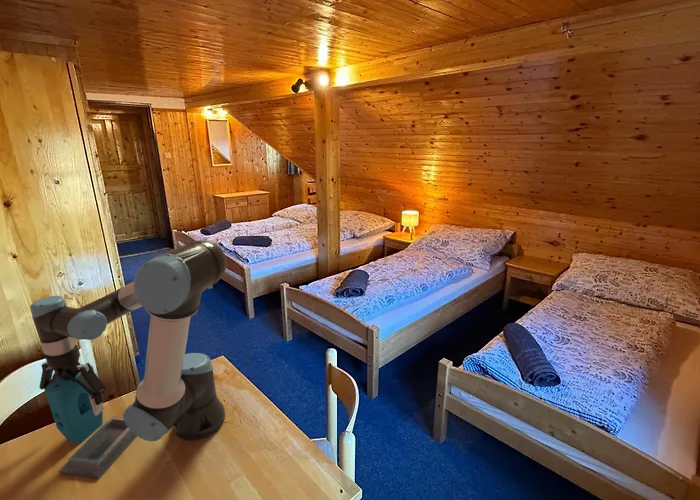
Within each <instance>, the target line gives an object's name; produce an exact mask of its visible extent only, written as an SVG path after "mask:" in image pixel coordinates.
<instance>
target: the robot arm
mask: <svg viewBox="0 0 700 500" xmlns="http://www.w3.org/2000/svg"><path fill="white" fill-rule="evenodd" d="M226 270H227V257H226V254H225V252H224V251H223V249H222V248H221V247H220V246H219V245H218V244H216V243H214V242H213V241H209V240H204V239H203V240H202V239H201V240H194V241H192V242H188V243H187V244H184V245H182V246H179V247H178V248H175V249H173V250H170V251H169V252H166V253H162V254H159V255H157V256H153V258H151V259H150V260H149V261H145V263H143V264H142V265H141V266H140V267H139V269H138V270H137V272H136V273H135V276H134V278H133V281H132V282H130V283H128V284H125V285H124V286H123V287H120V288H118V289H116V290H114V291H112V292H110V293H108V294H106V295H104V296H101V297H100V298H97V299H95V300H93V301H91V302H89V303H87V304H85V305H83V306H81V307H72V306H71V307H70V306H67V301H66V300H65V298H64V297H63V296H61V295H49V296H45V297H42V298H39V299H37V300H35V301H33V302H32V304H31V303H30V307H29V308H30V312H31V315H32V316H31V319H32V321H33V324H34V327H35V330H36V332H37V335H38V338H39V342H40V345H41V349H42V352H43V354H44V357H45V362H43V363H42V364H41V369H42V372H41V377H40V382H39V389H40V390H44V389H45V388H46V387H47V386H49V385H50V384H52V383H53V382H55V381H56V380H58V379H59V378H61V377H62V378H67V379H71V380H72V381H74V382H77V383H78V384H79V385H80V386H82V387H83V388H84V389H85V390H86V391H87V392H88V393H89V394H90V395H91V396H90V397H89V398H90V401H91V405H92V408H93V412H94V415H96V416H97V415H98V414H99V413H100V412H101V411H102V410H104V409H105V408H104V402H103V401H104V400H103V396H102V395H103V393H105V392H106V391H107V387H106V386H105V384H104V383H103V382H102V381H101V379H100V378H99V376H98V375H97V373H95V370H94V371H93V370H92V368H91V366H92V365H91V363H89V362H86V363H85V365H81V362H80V361H79V360H80V357H81V353H80V349H79V346H78V344H77V340H87V341H88V340H89V341H92V340H96V339H98V338H99V337H101V336H102V334H103V333H104V332H105V331H106V329H107V327H108V326H107V325H109V324H111V323H112V322H114V321H116V320H118V319H119V318H121V317H123V316H125V315H127V314H130V313H131V312H133V311H135V310H137V309H139V308H141V307H143V308H144V310H145V311H146V312H147V314H149V316H150V319H149V327H148V328H149V329H148V338H147V339H148V340H147V346H146V347H147V349H146V357H145V367H144V368H145V369H144V377H143V379H142V380H141V381H140V382H139V384H138V385H137V387H136V391H135V397H134V402H132V403H131V404H130V405H128V406H127V407H126V409H124V412H123V413H122V417H123V418H124V421H125V423H126V425H127V427H128V428H129V429H130V430H131V431H132V432H133V433H134V434H135V435H137V437H138V438H140V439H142V440H144V441H146V442H156V441H159V440H160V439H162V437H164V436H165V435H167V433H168V432H169V431H170V430H171V429H172V427H173V429H174V434H175V435H176V437H178V438H180V439H182V440H186V441H195V440H201V439H204V438H207V437H209V436H210V435H212V434H214V433H215V432H216V431H218V429H220V428H221V427H222V425H223V424H224V422H225V420H226V410H225V407H224V405H223V403H222V401H220V399H219V397H218V395H217V390H216V384H215V376H214V368H213V367H214V366H213V364H212V361H211V358H210V356H208V355H207V354H204V353H200V352H190V353H186V348H187V341H188V336H189V330H190V329H189V328H190V323H191V317H193V316H194V315H195V314H196V313H197V312H198V311H199V308H200V304H201V297H202V294H203V292H204V291H205V290H207V289H209V288H210V287H211V286H213V285H215V284H216V283H218V282H219V281H220V279H222V278H223V276H224V274H225V272H226ZM53 372H54V373H53ZM78 373H80V375H79V376H78V377H75V376H77V375H78ZM102 402H103V404H102Z"/></svg>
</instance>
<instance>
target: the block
mask: <svg viewBox="0 0 700 500" xmlns="http://www.w3.org/2000/svg"><path fill="white" fill-rule="evenodd" d="M80 364H81V363H80ZM85 364H86V363H85ZM85 364H84V363H83V364H81V365H85ZM91 368H92V370H93V371H94V372H95V369H94V365H91ZM79 375H80V373H78V375H77V376H75V377H78V376H79ZM43 390H44V393H45V395H46V398H47V402H48V404H49V407H50V411H51V414H52V418H53V420H54V423H55V427H56V429H57V430H58V431H59V432H60V433H61V435H62V436H63V437H64V438H65V439H66V440H67V441H68V443H74V444H81V443H83V442H84V441H85V440H86V439H88V438H89V437H90V436H91V435H93V434H94V432H95V431H98V430H99V429H100V428H101V427H102V426H103V425H104V423H103V421H104V420H103V418H104V417H103V416H104V415H103V414H104V411H103V410H104V409H103V410H102V411H101V412H100V413H99V414H98V415H97V416H96V415H94V412H93V408H92V405H91V401H90V398H89V397H90V396H91V395H90V394H89V393H88V392H87V391H86V390H85V389H84V388H83V387H82V386H80V385H79V384H78V383H77V382H74V381H72V380H71V379H67V378H62V377H61V378H59V379H58V380H56V381H55V382H53V383H52V384H50V385H49V386H47V387H46V388H45V389H43ZM102 404H103V405H104V402H102Z"/></svg>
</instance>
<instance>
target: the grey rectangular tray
mask: <svg viewBox="0 0 700 500" xmlns="http://www.w3.org/2000/svg"><path fill="white" fill-rule="evenodd" d="M137 437H138V436H137V435H135V434H134V433H133V432H132V431H131V430H130V429H129V428H128V427H127V425H126V423H125V421H124V418H123V416H122V417H121V416H111V417H110V418H109V419H108V420H107V421H106V422H105V423H103V424H102V425H101V426H100V427H99V428H98V429H97V430H96V432H95V433H93V434H92V436H91V437H90V438H89V439H88V440H87V441H85V442H84V443H83V444H82V445H81V446H80V448H78V449H77V450H76V451H75V452H74V453H73V454H72V455H71V456H70V457H69V458H68V461H67V462H66V463H65V464H64V465H63V466H62V467H61V468H60V469H59V470H58V472H59V473H58V474H61V475H67V476H73V477H79V478H80V477H81V478H87V479H92V480H93V479H94V480H100V479H101V478H102V477H103V475H104V474H105V473H106V472H107V471H108V470H109V468H111V466H112V465H113V464H114V463H115V461H117V460H118V458H119V457H121V455H122V454H123V453H124V452H125V450H126V449H127V448H128V447H129V446H130V445H131V443H133V441H134V440H135V439H136V438H137Z"/></svg>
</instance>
